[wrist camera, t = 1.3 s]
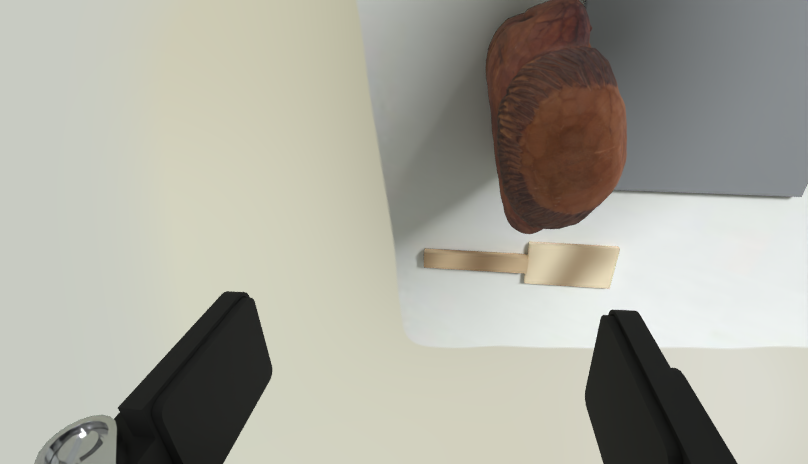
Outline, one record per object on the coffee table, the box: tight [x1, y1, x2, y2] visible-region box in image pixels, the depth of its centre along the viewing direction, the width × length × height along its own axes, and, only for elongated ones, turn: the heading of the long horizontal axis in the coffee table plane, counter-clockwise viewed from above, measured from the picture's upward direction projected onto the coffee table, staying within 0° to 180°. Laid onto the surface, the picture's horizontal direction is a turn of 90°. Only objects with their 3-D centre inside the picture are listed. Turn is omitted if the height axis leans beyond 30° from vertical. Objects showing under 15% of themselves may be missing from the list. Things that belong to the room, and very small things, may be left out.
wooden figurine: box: [486, 0, 627, 234], centre depth 25 cm, size 12×6×18 cm, turn 12°
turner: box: [424, 242, 620, 289], centre depth 39 cm, size 18×4×1 cm, turn 91°
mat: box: [585, 0, 808, 197], centre depth 31 cm, size 16×19×1 cm
